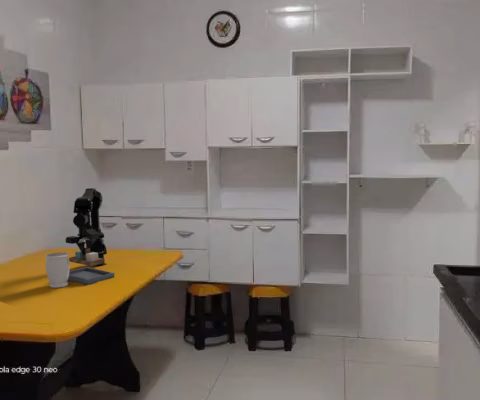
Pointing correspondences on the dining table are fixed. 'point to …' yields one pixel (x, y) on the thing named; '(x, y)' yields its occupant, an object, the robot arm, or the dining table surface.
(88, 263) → the caddy
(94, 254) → the cream block
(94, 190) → the robot arm
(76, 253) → the teal block
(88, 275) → the tray
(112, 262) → the dining table surface
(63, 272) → the jar
